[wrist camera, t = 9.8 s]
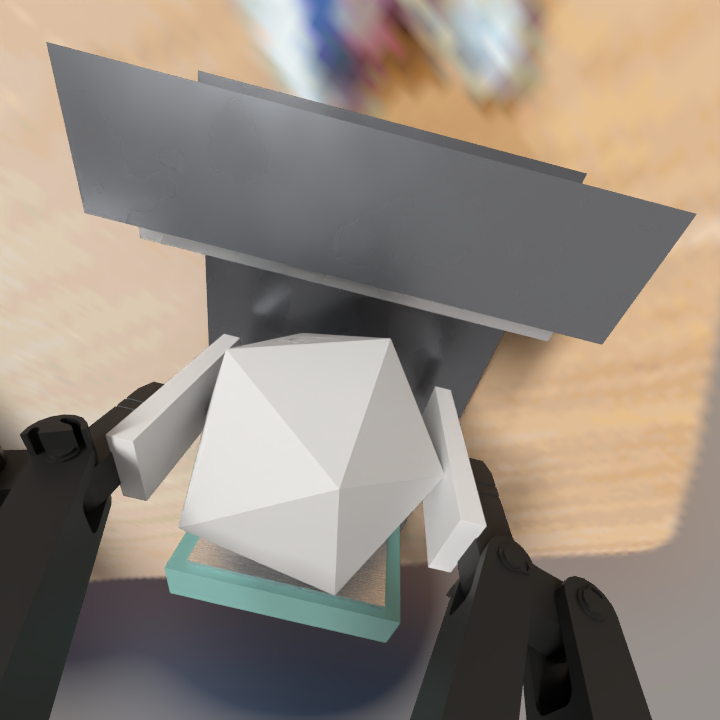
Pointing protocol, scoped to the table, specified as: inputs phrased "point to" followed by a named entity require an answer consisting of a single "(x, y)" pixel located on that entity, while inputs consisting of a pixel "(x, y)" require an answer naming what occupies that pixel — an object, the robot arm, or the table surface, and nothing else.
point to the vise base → (356, 219)
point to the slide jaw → (292, 588)
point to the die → (310, 455)
